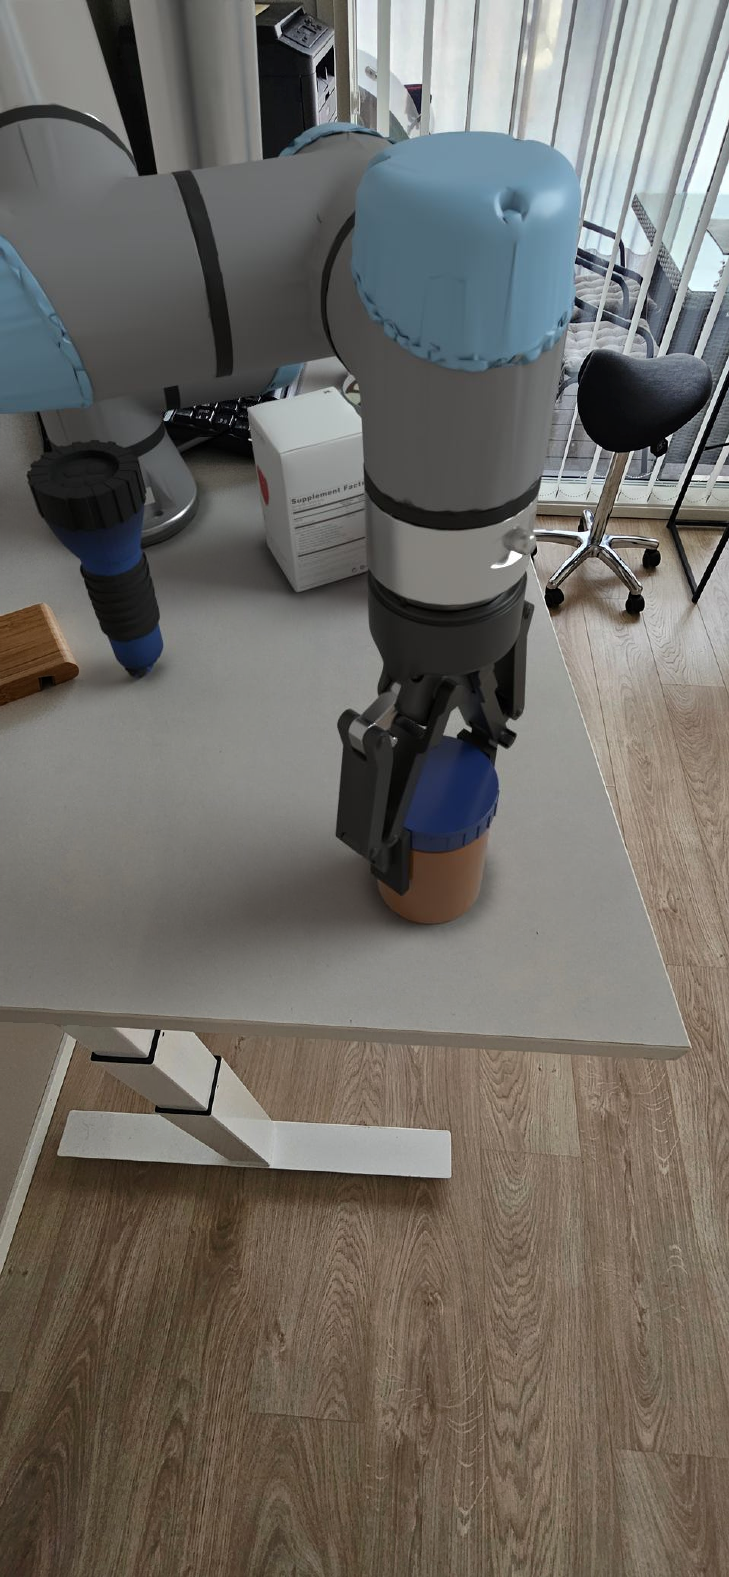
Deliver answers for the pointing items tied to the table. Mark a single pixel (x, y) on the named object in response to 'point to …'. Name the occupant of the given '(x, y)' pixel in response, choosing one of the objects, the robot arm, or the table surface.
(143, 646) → the flashlight
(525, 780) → the table surface
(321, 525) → the rectangular carton
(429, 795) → the jar lid
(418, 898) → the jar
